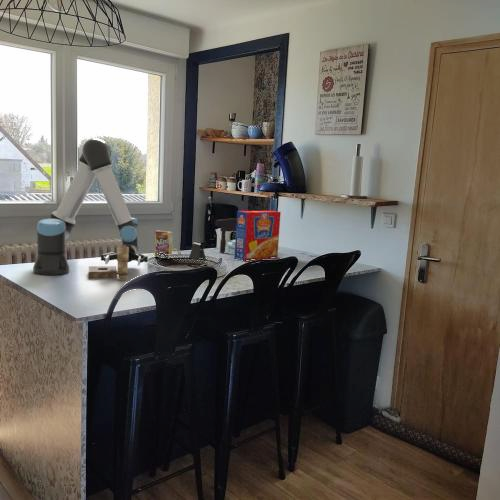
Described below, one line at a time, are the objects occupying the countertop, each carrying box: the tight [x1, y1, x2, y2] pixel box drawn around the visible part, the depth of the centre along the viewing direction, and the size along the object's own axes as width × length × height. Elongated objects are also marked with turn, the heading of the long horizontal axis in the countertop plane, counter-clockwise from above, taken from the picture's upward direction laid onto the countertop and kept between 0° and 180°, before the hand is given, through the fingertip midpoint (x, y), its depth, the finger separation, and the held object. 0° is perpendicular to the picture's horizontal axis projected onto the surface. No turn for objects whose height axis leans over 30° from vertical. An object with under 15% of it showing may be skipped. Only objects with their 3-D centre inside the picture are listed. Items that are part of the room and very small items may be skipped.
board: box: [88, 265, 118, 279], centre depth 220 cm, size 12×12×3 cm
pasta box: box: [233, 210, 282, 262], centre depth 287 cm, size 28×8×28 cm, turn 134°
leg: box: [116, 245, 129, 282], centre depth 212 cm, size 5×5×15 cm
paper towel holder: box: [214, 217, 237, 254], centre depth 309 cm, size 16×21×33 cm
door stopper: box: [188, 241, 207, 260], centre depth 256 cm, size 9×6×12 cm, turn 136°
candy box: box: [154, 230, 174, 257], centre depth 269 cm, size 9×4×15 cm, turn 72°
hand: (122, 261), depth 209 cm, fingers open, 13 cm apart
